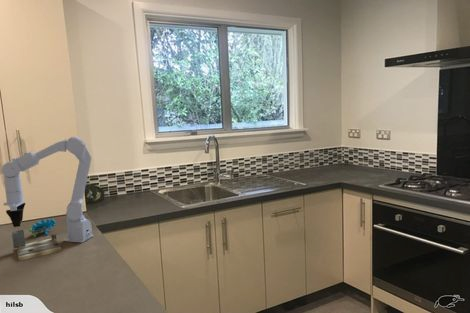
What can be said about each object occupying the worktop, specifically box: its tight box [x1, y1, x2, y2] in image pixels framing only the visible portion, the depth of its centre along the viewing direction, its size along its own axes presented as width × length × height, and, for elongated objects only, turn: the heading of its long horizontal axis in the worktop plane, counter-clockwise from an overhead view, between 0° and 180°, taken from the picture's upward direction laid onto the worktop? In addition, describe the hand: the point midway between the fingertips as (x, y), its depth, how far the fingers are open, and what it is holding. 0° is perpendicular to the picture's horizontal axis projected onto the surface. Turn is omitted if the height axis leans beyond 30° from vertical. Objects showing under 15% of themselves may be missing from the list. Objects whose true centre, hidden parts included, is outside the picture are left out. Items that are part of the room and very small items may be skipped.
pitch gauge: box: [16, 233, 62, 262], centre depth 143 cm, size 14×15×4 cm
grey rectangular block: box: [11, 229, 26, 251], centre depth 140 cm, size 4×7×6 cm, turn 34°
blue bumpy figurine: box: [28, 218, 57, 238], centre depth 162 cm, size 11×6×10 cm
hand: (18, 223), depth 145 cm, fingers open, 7 cm apart
